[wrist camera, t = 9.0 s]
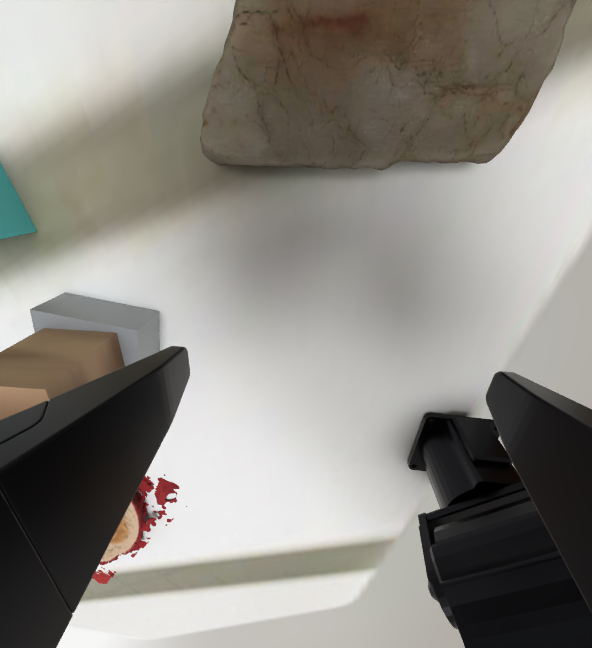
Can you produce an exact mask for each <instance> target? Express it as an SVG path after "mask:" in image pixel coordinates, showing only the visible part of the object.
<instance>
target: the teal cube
mask: <svg viewBox="0 0 592 648" xmlns="http://www.w3.org/2000/svg"><path fill="white" fill-rule="evenodd" d="M32 232H37V230H36V228H35V226H34V224H33V223H32V221H31V219H30V217H29V215H28V213H27V211H26V209H25V208H24V206H23V204H22V202H21V200H20V198H19V196H18V194H17V192H16V191H15V189H14V187H13V185H12V183H11V181H10V179H9V177H8V176H7V174H6V172H5V170H4V168H3V166H2V164H1V162H0V239H4V238H8V237H13V236H18V235H23V234H27V233H32Z"/></svg>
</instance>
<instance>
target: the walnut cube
mask: <svg viewBox="0 0 592 648" xmlns="http://www.w3.org/2000/svg"><path fill="white" fill-rule="evenodd" d="M122 367H125V364H124V360H123V356H122V352H121V348H120V344H119V340H118V336H117V333H114V332H98V331H82V330H66V329H51V328H43V329H41V330H39V331H38V332H36V333H34V334H32V335H30V336H29V337H27V338H25V339H23V340H22V341H20V342H18V343H16V344H14V345H13V346H11V347H9V348H7V349H6V350H4V351H2V352H0V420H2V419H4V418H7V417H9V416H11V415H14V414H16V413H18V412H21V411H23V410H26V409H28V408H30V407H33V406H35V405H37V404H40V403H42V402H44V401H49V400H50V399H51V398H54V397H56V396H58V395H60V394H63V393H65V392H67V391H70V390H72V389H74V388H77V387H79V386H81V385H83V384H86V383H88V382H90V381H93V380H95V379H97V378H100V377H102V376H104V375H106V374H109V373H111V372H113V371H116V370H118V369H120V368H122Z"/></svg>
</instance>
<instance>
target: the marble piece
mask: <svg viewBox="0 0 592 648" xmlns="http://www.w3.org/2000/svg"><path fill="white" fill-rule="evenodd" d="M575 3H576V0H236V2H235V6H234V12H233V21H232V24H231V28H230V31H229V34H228V37H227V39H226V41H225V45H224V52H223V55H222V57H221V60H220V62H219V63H218V65H217V67H216V70H215V72H214V76H213V80H212V84H211V89H210V91H209V94H208V98H207V102H206V107H205V109H204V112H203V126H202V132H201V137H200V140H201V145H202V151H203V153H204V155H205V156H206V157H207V158H208V159H209V160H211V161H212V162H215V163H217V164H218V165H224V164H232V165H254V166H280V167H290V166H304V167H321V168H328V169H336V168H338V167H347V168H351V169H359V168H374V169H378V170H384V169H386V168H388V167H390V166H391V165H393V164H395V163H397V162H399V161H410V162H439V163H458V162H473V163H477V164H480V163H487V162H489V161H491V160H492V159H493V158H494V157H495V156H496V155H497V154H499V153H500V152H501V151H502V149H503V148H504V147H505V146H506V145H507V143H508V142H509V141H510V139H511V138H512V136H513V134H514V133H515V131H516V130H517V129H518V128H519V126H520V125H521V124H522V122H523V121H524V119H525V117H526V116H527V114H528V113H529V111H530V109H531V107H532V105H533V103H534V101H535V99H536V97H537V95H538V93H539V91H540V88H541V86H542V84H543V82H544V80H545V79H546V77H547V76H548V75H549V73H550V72H551V70H552V69H553V66H554V63H555V61H556V58H557V55H558V53H559V50H560V47H561V44H562V41H563V37H564V29H565V25H566V23H567V21H568V19H569V17H570V15H571V12H572V10H573V8H574V5H575Z"/></svg>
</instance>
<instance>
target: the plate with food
mask: <svg viewBox="0 0 592 648" xmlns="http://www.w3.org/2000/svg"><path fill="white" fill-rule="evenodd" d="M164 476H165V475H164ZM149 479H150V477H148V476H147V478H146V477H145V476H144V478H143V480H142V482H141V484H140V486H139V488H138V490H140V491H141V492H142V495H143V496H141V494H140V493H138V492H140V491H138V490H137V492H136V493H135V495H134V497H133V499H132V501H131V503H130V505H129V507H128V509H127V511H126V513H125V515H124V517H123V519H122V521H121V523H120V524H119V526H118V528H117V530H116V532H115V534H114V536H113V538H112V540H111V542H110V544H109V546H108V548H107V550H106V552H105V553H104V555H103V557H102V559H101V561H100V563H99V564H100V565H104V564H107V563H108V562H109V563H111V562H112V561H114V560H117V559H118V556H119V555H120V556H121V554H124V555H125V554H128V553H129V552H130V553H131V552H132V551H133V550H134V551H135V550H139V549H140V548H141V547H142V548H144V547H145V546H146V544H147V543H148V542H147V543H146V542H145V541H141V538H142V536H143V531H147V532H149V531H150V530H151V529H150V528H149V527H150V524H152V525H153V526H156V523H155V522H154V521H155V520H156V518H149V519H148V520H147V524H146V521H145V515H146V511H147V509H146V506H147V505H149V504H147V503H146V502H143V501H144V500H145V496H146V497H147V495H146V491H147V492H151V489H152V490H153V489H154V487H153V486H151V485H150V484H152V485H154V484H153V483H152V482H151V480H149ZM158 481H159V483H158V486H156V487H157V488H156V490H157V491H155V497H156V499H157V503H158V505H162V508H163V509H166V507H165V506H164V504H165V503H166V502H170V503H173V502H177V500H176V498H175V499H173V500H171V501H166V500H165V498H166V496H167V495H168V494H170V493H176V492H175V491H174V490H173V489H179V486H178V485H176V484H175V483H172V482H169V481H167V480H165V479H163V478H158ZM176 494H177V493H176ZM152 507H154V506H152ZM186 507H187V506H186ZM153 512H156V511H153ZM158 513H159V515H160V516H159V517H158V519H161V518H162V515H167V514H166V513H165V510H164V511H159V512H158ZM173 519H174V518H173ZM173 519H172V520H173ZM172 520H170V519H167V522H171V521H172ZM166 526H167V525H166ZM147 539H150V538H147ZM136 554H137V552H136ZM136 554H135V553H134V554H132V555H131V557H134V556H135V555H136ZM101 568H102V567H101ZM103 569H104V568H103ZM98 571H99V572H102V573H99V572H96V571H95V573H94V575H93V577H92V578H93V579H95V580H96V581H97V582H98V583H103V584H107V582H108V581H109V579H110V578H111V577H113V576H114V573H116V572H115V571H114V573H112V572H111V571H110V570H109V572H108V574H109V575H110V576H109V575H107V574H105V573H103V571H101V570H98ZM97 573H99V574H100V575H99V574H97Z"/></svg>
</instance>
